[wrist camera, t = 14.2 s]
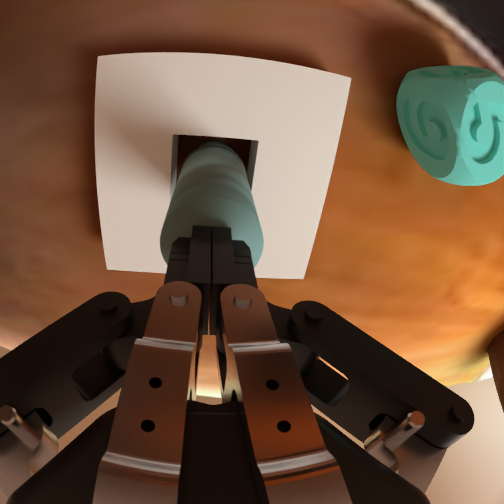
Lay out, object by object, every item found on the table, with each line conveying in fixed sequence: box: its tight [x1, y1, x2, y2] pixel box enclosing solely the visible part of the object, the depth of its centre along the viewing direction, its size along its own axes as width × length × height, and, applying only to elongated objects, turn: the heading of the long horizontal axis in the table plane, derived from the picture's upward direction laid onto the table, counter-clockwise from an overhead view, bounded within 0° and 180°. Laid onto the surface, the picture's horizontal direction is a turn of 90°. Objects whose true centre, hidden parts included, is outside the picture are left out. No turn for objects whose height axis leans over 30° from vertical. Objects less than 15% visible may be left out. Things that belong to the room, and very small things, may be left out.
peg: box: [160, 140, 264, 267], centre depth 17 cm, size 4×4×12 cm
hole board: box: [95, 52, 351, 279], centre depth 20 cm, size 16×16×4 cm
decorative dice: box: [396, 65, 504, 186], centre depth 17 cm, size 8×8×8 cm
